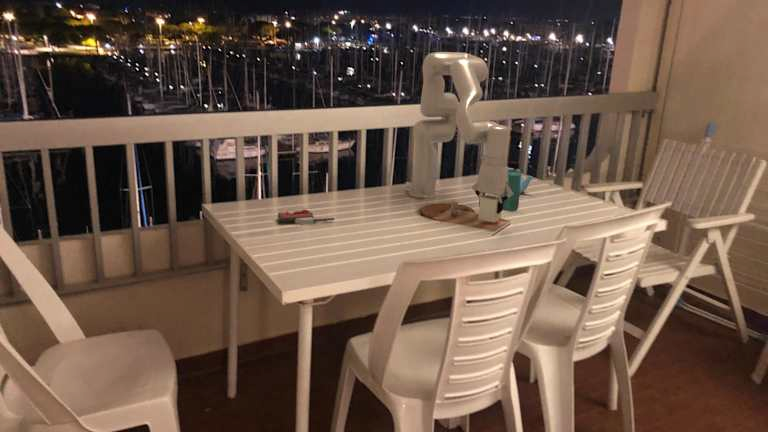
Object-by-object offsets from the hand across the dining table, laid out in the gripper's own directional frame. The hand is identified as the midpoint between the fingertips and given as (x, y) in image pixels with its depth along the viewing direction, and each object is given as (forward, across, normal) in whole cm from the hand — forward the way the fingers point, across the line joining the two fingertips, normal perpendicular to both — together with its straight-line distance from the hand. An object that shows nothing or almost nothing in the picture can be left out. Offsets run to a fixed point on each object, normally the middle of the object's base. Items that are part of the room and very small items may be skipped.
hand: (490, 210), depth 214 cm
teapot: (+7, -13, +52) cm, 54 cm away
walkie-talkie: (+7, -55, -36) cm, 66 cm away
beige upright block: (+3, 0, 0) cm, 3 cm away
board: (+6, -7, 0) cm, 9 cm away
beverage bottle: (+6, -1, +22) cm, 23 cm away
